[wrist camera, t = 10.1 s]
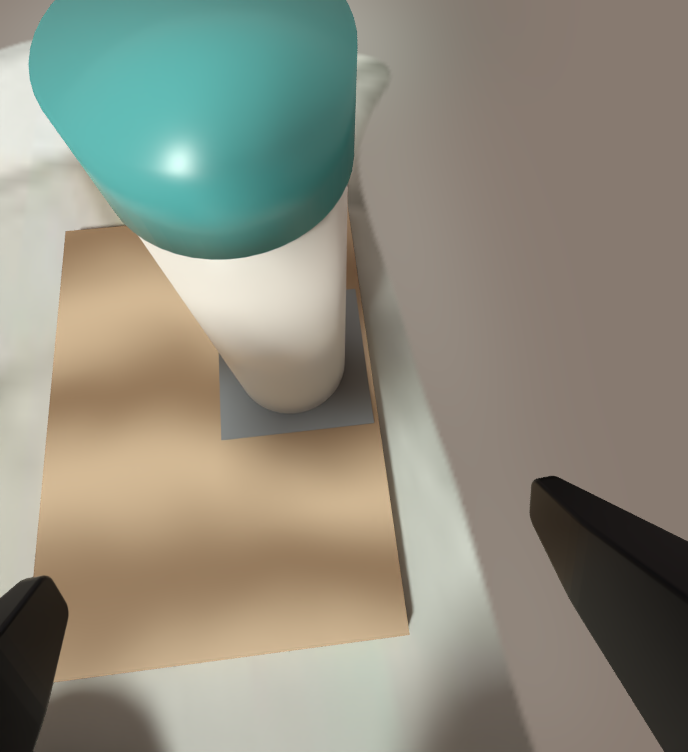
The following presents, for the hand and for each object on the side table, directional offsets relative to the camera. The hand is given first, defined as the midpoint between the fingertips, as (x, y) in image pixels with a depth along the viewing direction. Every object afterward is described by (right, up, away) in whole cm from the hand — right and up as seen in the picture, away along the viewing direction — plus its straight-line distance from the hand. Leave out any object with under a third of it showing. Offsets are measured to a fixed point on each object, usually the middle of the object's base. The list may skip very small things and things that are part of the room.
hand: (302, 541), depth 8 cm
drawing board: (-4, +2, +10) cm, 11 cm away
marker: (-1, +4, +10) cm, 11 cm away
